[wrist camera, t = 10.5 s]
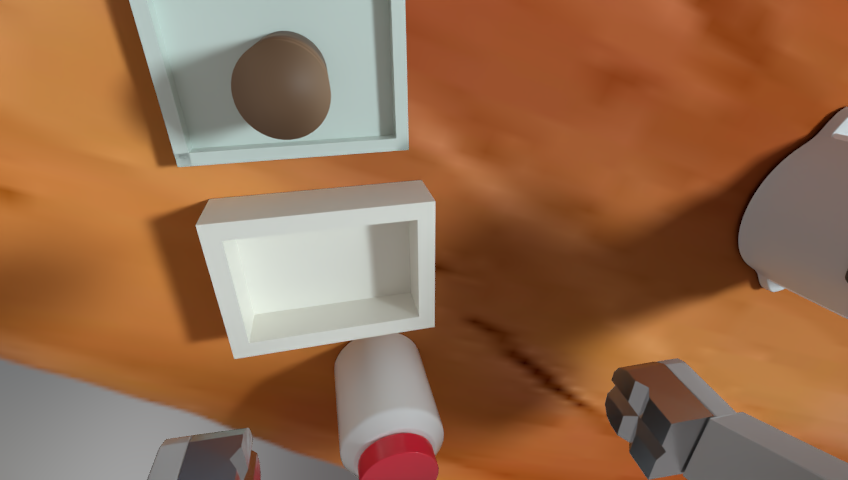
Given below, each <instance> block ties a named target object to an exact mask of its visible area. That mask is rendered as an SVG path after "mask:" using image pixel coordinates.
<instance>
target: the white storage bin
mask: <svg viewBox="0 0 848 480" xmlns="http://www.w3.org/2000/svg"><path fill="white" fill-rule="evenodd" d="M195 226H196V229H197V232H198V236H199V239H200V243H201V246H202V250H203V253H204V256H205V260H206V263H207V267H208V270H209V274H210V277H211V280H212V284H213V287H214V291H215V294H216V298H217V301H218V304H219V308H220V311H221V315H222V318H223V322H224V325H225V328H226V332H227V335H228V339H229V342H230V346H231V349H232V352H233V356H234V359H238V358H244V357H250V356H256V355H263V354H269V353H275V352H281V351H288V350H294V349H300V348H306V347H313V346H319V345H325V344H331V343H337V342H344V341H350V340H356V339H362V338H369V337H375V336H381V335H387V334H393V333H400V332H406V331H412V330H418V329H425V328H431V327H435V200H434V198H433V197H432V195H431V194H430V192H429V191H428V189H427V188H426V186H425V185H424V183H423V182H422V180H416V181H405V182H394V183H383V184H372V185H361V186H350V187H338V188H327V189H316V190H305V191H294V192H283V193H272V194H261V195H250V196H239V197H227V198H216V199H209V200H208V202H207V204H206V206H205V208H204V210H203V212H202V214H201V216H200V218H199V220H198V221H197V223H196V225H195Z"/></svg>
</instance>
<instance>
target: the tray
mask: <svg viewBox="0 0 848 480" xmlns="http://www.w3.org/2000/svg"><path fill="white" fill-rule="evenodd" d="M129 2H130V6H131V9H132V12H133V16H134V19H135V23H136V26H137V29H138V33H139V36H140V40H141V43H142V47H143V50H144V53H145V57H146V60H147V64H148V67H149V71H150V74H151V77H152V81H153V84H154V88H155V91H156V94H157V98H158V101H159V105H160V108H161V112H162V115H163V118H164V122H165V125H166V129H167V132H168V135H169V139H170V142H171V146H172V149H173V153H174V156H175V159H176V163H177V166H178V167H186V166H200V165H213V164H226V163H239V162H253V161H266V160H279V159H293V158H306V157H319V156H332V155H346V154H359V153H372V152H386V151H399V150H409V138H408V98H407V57H406V17H405V0H129ZM277 31H291V32H295V33H298V34H301V35H303V36H305V37H306V38H308V39H309V40H310V41H312V42H313V43H314V44H315V45H316V46H317V48H318V49H319V50H320V52H321V53H322V55H323V57H324V60H325V63H326V66H327V72H328V77H329V83H330V89H331V103H330V108H329V111H328V114H327V116H326V118H325V120H324V121H323V123H322V124H321V125H320V126H319V127H318V128H317V129H316V130H315V131H313V132H312V133H310V134H309V135H307V136H304V137H302V138H298V139H293V140H281V139H275V138H271V137H268V136H266V135H264V134H262V133H260V132H258V131H257V130H255V129H254V128H253V127H251V126H250V125H249V124H248V123H247V122H246V121H245V120H244V119H243V117H242V116H241V115H240V113H239V111H238V110H237V108H236V106H235V103H234V100H233V97H232V92H231V77H232V73H233V69H234V67H235V65H236V63H237V61H238V59H239V58H240V57H241V56H242V54H243V53H244V52H246V51H247V50H248V49H249V48H250V47H252V46H253V45H254V44H256V43H257V42H258V41H259V40H261V39H262V38H263V37H265V36H266V35H268V34H270V33H273V32H277Z"/></svg>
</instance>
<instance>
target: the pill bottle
mask: <svg viewBox="0 0 848 480" xmlns="http://www.w3.org/2000/svg"><path fill="white" fill-rule="evenodd" d="M334 376H335V390H336V405H337V419H338V433H339V447H340V456H341V460H342V463H343V465H344V467H345V468H346V469H347V470H348V471H349V472H350V473H352V474H353V475H355V476H357V477H358V478H359V480H436V479H437V476H438V469H439V468H438V464H437V461H436V457H435V456H436V455H437V453H438V451H439V450H440V448H441V446H442V443H443V440H444V430H443V426H442V422H441V419H440V416H439V413H438V410H437V407H436V404H435V400H434V397H433V394H432V391H431V388H430V385H429V382H428V379H427V375H426V372H425V369H424V366H423V363H422V360H421V357H420V354H419V350H418V348H417V347H416V345H415V344H414V342H413V341H412V340H411V339H409V338H408V337H406V336H404V335H402V334H399V333H393V334H387V335H381V336H375V337H369V338H362V339H356V340H353V341H351V342H350V343H348V344H347V345H346V346H345V347H344V348H343V349H342V350H341V352H340V353H339V355H338V357H337V359H336V361H335V366H334Z"/></svg>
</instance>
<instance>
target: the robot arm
mask: <svg viewBox="0 0 848 480" xmlns="http://www.w3.org/2000/svg"><path fill="white" fill-rule="evenodd" d="M738 244H739V251H740V254H741V256H742V258H743V260H744V261H745V262H746V263H747V264H748V265H749V266H750V267H752V268H753V269H754V270H755V271H756V272H757V274H758V279H759V282H760V285H761V286H762V287H763V288H765V289H767V290H769V291H771V292H776V291H780V290H783V289H785V288H786V289H788V290H790V291H792V292H794V293H796V294H798V295H800V296H802V297H804V298H806V299H808V300H810V301H812V302H814V303H816V304H818V305H820V306H822V307H824V308H826V309H828V310H830V311H832V312H834V313H836V314H838V315H840V316H842V317H844V318H847V319H848V107H845V108H843V109H842V110H840V111H839V112H838V113H837V114H836V115H835V116H834V117H833V118H832V119H831V120H830V121H829V122H828V123H827V124H826V125H825V126H824V127H823V129H822V130H821V131H820V132H819V133H818V134H817V135H816V136H815V137H814V138H813V139H811V140H810V141H809V142H807V143H806V144H804V145H803V146H801V147H800V148H798V149H797V150H795V151H794V152H793V153H791V154H790V155H789V156H788V157H786V158H785V159H784V160H783V161H782V162H781V163H780V164H779V165H778V166H777V167H776V168H775V169H774V170H773V171H772V172H771V173H770V174H769V175H768V176H767V178H766V179H765V180H764V181H763V183H762V184H761V185H760V187H759V188H758V189H757V191H756V192H755V194H754V196H753V197H752V199H751V201H750V203H749V205H748V207H747V209H746V211H745V213H744V216H743V219H742V222H741V225H740V230H739V237H738ZM612 381H613V383H614V384H615V387H614V388H613V389H612V390H611V391H610V392H609V393H608V394H607V398H606V402H605V407H606V413H607V417H608V419H609V422H610V424H611V426H612V427H613V429H614V430H615V432H616V433H617V435H618V436H620V437H622V438H623V439H625V440H627V441H628V442H629V453H630V454H631V455H632V457H633V458H634V460H635V461H636V463H637V464H638V466H639V467H640V469H641V470H642V471H643V473H644V474H645V476H646V477H647V479H648V480H649V479H654V478H660V477H665V476H671V475H677V474H682V473H684V474H683V476H684V477H685V478H687V479H688V480H848V463H846V462H844V461H842V460H840V459H838V458H836V457H834V456H832V455H830V454H828V453H826V452H823V451H821V450H819V449H817V448H815V447H813V446H811V445H809V444H807V443H805V442H803V441H801V440H799V439H797V438H795V437H793V436H791V435H789V434H787V433H784V432H782V431H780V430H778V429H776V428H774V427H772V426H770V425H768V424H766V423H764V422H762V421H760V420H758V419H756V418H754V417H752V416H750V415H748V414H745V413H743V412H739V413H736V412H735V411H734V410H733V409H732V408H731V407H730V406H729V405H728V404H727V403H726V402H725V401H724V400H723V399H722V398H721V397H720V396H719V395H718V394H717V393H716V392H715V391H714V390H713V389H712V388H711V387H710V386H709V385H708V384H707V383H706V382H705V381H704V380H702V379H701V378H700V377H699V376H698V375H697V374H696V373H695V372H694V371H693V370H692V369H691V368H690V367H689V366H688V365H687V364H686V363H685V362H684V361H682V360H680V359H678V358H677V359H670V360H664V361H658V362H649V363H644V364H638V365H632V366H627V367H621V368H618V369H617V370H616V371H615V372H614V374H613V377H612ZM252 442H253V437H252V434H251V431H250V428H244V429H236V430H229V431H221V432H214V433H206V434H199V435H193V436H186V437H179V438H172V439H166V440H165V441H164V442H163V444H162V445H161V446H160V448H159V450H158V453H157V455H156V458H155V461H154V463H153V466H152V468H151V471H150V474H149V476H148V479H147V480H260V465H259V459H258V455H257V453H256V452H254V451H252V450H251V448H252Z"/></svg>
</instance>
